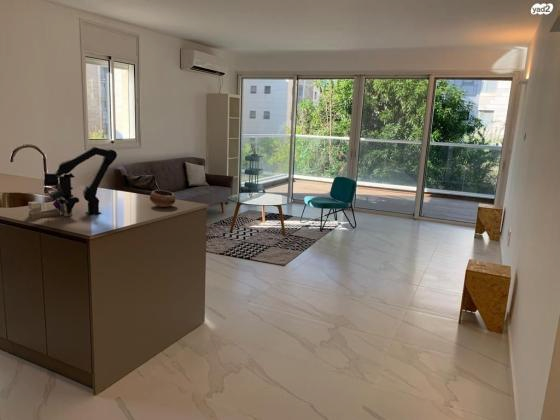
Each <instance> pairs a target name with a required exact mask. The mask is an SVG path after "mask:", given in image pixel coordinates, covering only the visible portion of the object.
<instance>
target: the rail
mask: <svg viewBox="0 0 560 420" xmlns="http://www.w3.org/2000/svg"><path fill="white" fill-rule="evenodd" d="M27 204H28V218H31V219H33V220H34V219H41V218H49V217H50V218H51V217H56V216H58V217H59V216H61V211H59V210H60V209H57V208H56V207H55V208H48V209H42V204H41V202H39V201H28V203H27Z"/></svg>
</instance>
